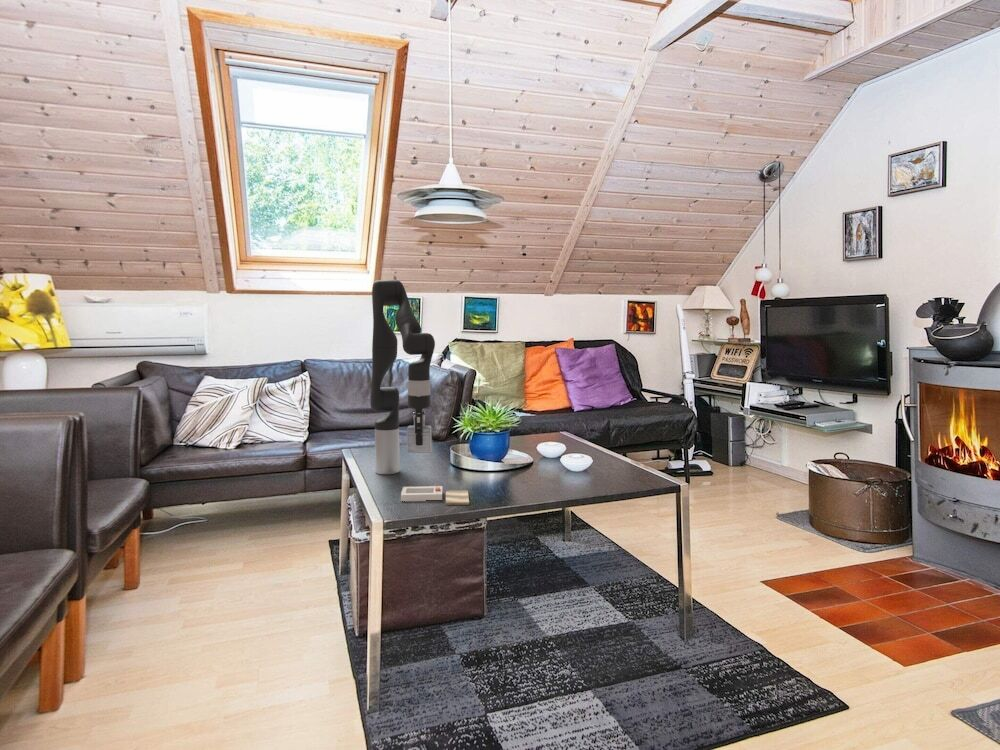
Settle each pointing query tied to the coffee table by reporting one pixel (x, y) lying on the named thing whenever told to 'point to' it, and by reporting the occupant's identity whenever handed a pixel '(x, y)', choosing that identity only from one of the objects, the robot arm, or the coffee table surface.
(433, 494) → the power strip
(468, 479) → the coffee table surface
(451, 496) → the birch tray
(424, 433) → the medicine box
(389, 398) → the robot arm
